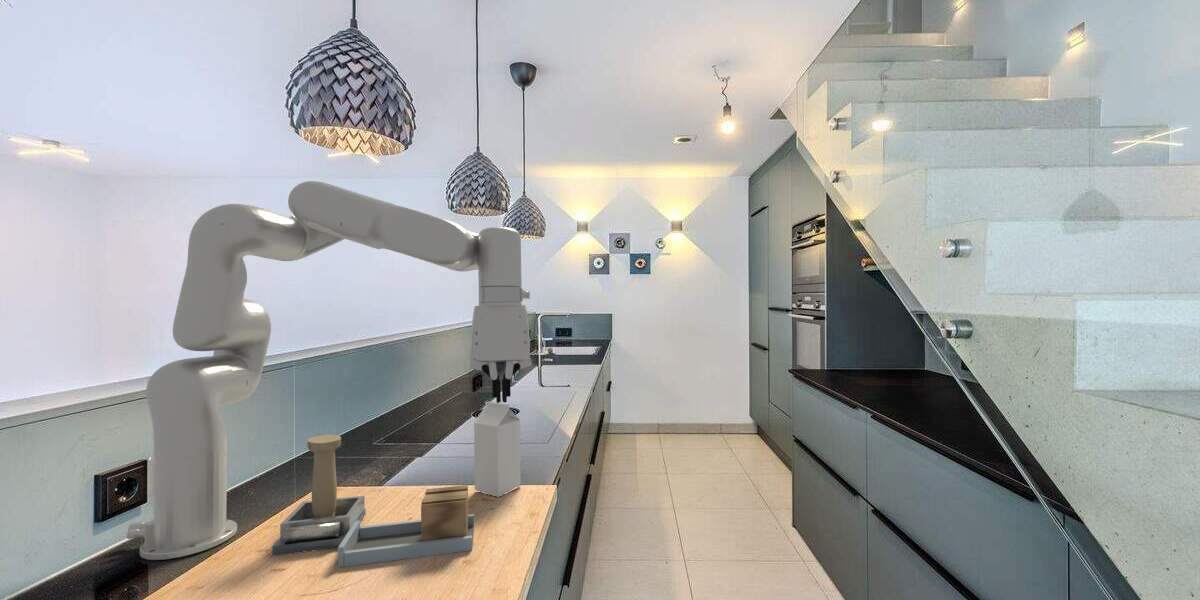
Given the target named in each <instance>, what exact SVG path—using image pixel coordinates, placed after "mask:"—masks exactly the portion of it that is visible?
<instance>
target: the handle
mask: <svg viewBox="0 0 1200 600" xmlns="http://www.w3.org/2000/svg"><path fill="white" fill-rule="evenodd" d="M341 446H342V437H341V436H340V435H336V434H322V435H317V436H313V437H309V438H308V439H307V449H308V451H310V452H312V453H313V466H312V467H313V470H312V481H311V482H312V484H311V501H312V509H313V515H314V516H315V518H314V519H316V518H325V517H335V509H336V501H337V498H338V493H337V492H338V486H337V485H338V484H337V483H338V482H337V470H336V450H337V449H339V448H340V447H341Z"/></svg>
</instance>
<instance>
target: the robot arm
mask: <svg viewBox="0 0 1200 600" xmlns="http://www.w3.org/2000/svg"><path fill="white" fill-rule="evenodd" d="M287 202H288V203H287V205H288V209H289V212H290V213H291V214H292V215H291V216H285V215H282V214H279V213H277V212H274V211H272V210H271V211H270V210H268V209H265V208H261V207H259V206H254V205H250V204H243V203H227V204H221V205H218V206H215V207H213V208H211V209H209V210H207V211H205V212H204V213H203V214H202V215H200V217H199V218H197V220H196V221H195V222H194V224H193V225H192V228H191V231H190V234H189V238H188V247H187V259H186V260H187V261H186V267H185V273H184V277H183V280H182V284H181V288H180V291H179V297H178V302H177V306H176V310H175V314H174V318H173V324H172V337H173V340H174V341H175V344H176V345H178V347H179V346H180V347H181V348H182V349H183V350H187V351H192V352H213V354H212V355H211V356H209V355H208V356H201V357H200V356H199V357H198V356H197V357H191V358H189V357H188V358H184V359H179V360H174V361H172V362H171V361H170V362H169V363H166V364H164V365H162V366H161V367H159V368H158V369H157V370H156V371H154V373H152V375H151V376H150V377H149V380H148V381H147V383H146V388H145V394H146V396H145V397H146V401H147V405H148V409H149V413H150V417H151V423H152V431H153V432H152V433H153V502H152V503H153V505H152V506H153V507H152V508H153V509H152V510H153V512H152V513H153V515H152V516H153V517H152V519H153V520H152V521H151V520H150V521H149V520H148V521H146V520H144V521H143V520H142V521H134V522H131V523H130V524H129V526H128V528H127V533H126V539H128V540H130V539H131V540H132V539H138V538H143V539H144V542H143V543H142V544H141V545H140V546H139V557H141V558H142V559H145V560H149V561H161V560H172V559H177V558H182V557H186V556H189V555H194V554H197V553H198V554H199V553H201V552H203V551H206V550H209V549H212V548H214V547H217V546H219V545H221V544H223V543H225V542H226V541H228V540H230V539H231V538H232V537H234V536H235V534H236V533H237V531H238V523H237V522H236V521H234V520H233V519H227V497H228V494H227V488H228V487H227V486H228V485H227V484H228V483H227V482H228V481H227V480H228V472H227V471H228V466H227V465H228V458H227V457H228V444H227V443H228V441H227V440H228V438H227V437H228V436H227V429H226V426H225V423H224V421H223V419H222V417H221V415H220V413H219V411H218V408H221V407H225V406H228V405H232V404H236V403H239V402H242V401H244V400H246V399H247V398H249V397H250V396H252V395H253V394H254V392H255V391H256V389H257V388H258V386H259V384H260V381H261V378H262V374H263V371H264V370H263V369H264V364H265V362H266V356H267V353H268V348H269V342H270V338H271V334H272V333H271V332H272V324H271V323H272V322H271V318H270V316H269V312H268V311H267V310H266V309H265V308H264V306H262V304H260V303H258V302H256V301H254V300H251V299H244V297H245V296H244V295H245V291H246V288H247V287H246V286H247V284H248V272H247V267H246V264H245V262H244V259H243V258H244V257H246V256H253V257H254V256H255V257H259V258H263V259H270V260H274V261H278V262H279V261H280V262H293V261H298V260H302V259H305V258H307V257H309V256H312V255H314V254H316V253H318V252H320V251H322V250H325V249H326V248H329V247H332V246H334V245H336V244H338V243H340V242H342V241H343V240H348V241H350V242H354V243H357V244H360V245H364V246H366V247H370V248H372V249H377V250H381V249H385V250H390V251H392V252H395V253H399V254H403V255H405V256H409V257H411V258H413V259H414V258H415V259H418V260H421V261H424V262H427V263H430V264H433V265H436V266H439V267H443V268H446V269H449V270H452V271H454V272H460V273H461V272H470V271H477V270H478V305H475V306H474V308H473V312H472V314H473V315H472V321H471V338H470V339H471V340H470V341H471V344H470V351H471V352H470V353H471V357H470V361H469V368H470V369H471V370H476V371H481V372H484V373H485V374H486V375H487V377H489V378H490V379H491V382H492V383H491V386H492V387H491V389H492V390H491V392H492V393H491V394H492V399H493V398H496V399H495V400H496V403H501V402H502V403H507V402H508V401H507V399H508V398H507V397H509V398H510V397H511V396H512V395H511V380H512V379H513V376H515V375H516V373H518V372H519V370H521V369H525V368H528V367H531V366H532V365H533V362H532V361H533V360H532V358H531V339H530V338H531V336H530V326H529V319H528V317H529V316H528V311H527V306H526V305H525V304H523V303H522V302H523V301H524V300H527V299H530V298H531V297H530V296H531V293H530V291H527V290H524V289H523V288H522V285H523V284H522V238H521V234H520V233H519V231H517V230H516V229H514V228H511V227H503V226H499V227H498V226H496V227H495V226H494V227H486V228H483V229H482V230H480V232H479V233H478V232H472V231H469V230H467V229H466V228H464V227H463V226H461V225H460V224H457V223H455V222H453V221H449V220H447V219H444V218H441V217H438V216H434V215H432V214H428V213H425V212H422V211H418V210H415V209H411V208H409V207H404V206H401V205H397V204H395V203H391V202H388V201H384V200H381V199H377V198H374V197H371V196H368V195H365V194H362V193H358V192H356V191H352V190H349V189H347V188H343V187H339V186H337V185H333V184H330V183H326V182H321V181H316V180H308V181H303V182H301V183H300V182H299V184H297V185H295V186H294V187H293V188H292V190H291V191H290V192H289V195H288V198H287ZM499 362H500V363H502V362H503V363H504V362H505V367H504V368H505V370H504V374H502V378H500V374H498V371H497V363H499ZM501 395H502V396H501Z"/></svg>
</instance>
